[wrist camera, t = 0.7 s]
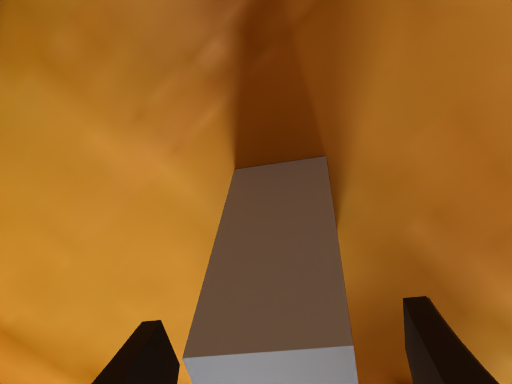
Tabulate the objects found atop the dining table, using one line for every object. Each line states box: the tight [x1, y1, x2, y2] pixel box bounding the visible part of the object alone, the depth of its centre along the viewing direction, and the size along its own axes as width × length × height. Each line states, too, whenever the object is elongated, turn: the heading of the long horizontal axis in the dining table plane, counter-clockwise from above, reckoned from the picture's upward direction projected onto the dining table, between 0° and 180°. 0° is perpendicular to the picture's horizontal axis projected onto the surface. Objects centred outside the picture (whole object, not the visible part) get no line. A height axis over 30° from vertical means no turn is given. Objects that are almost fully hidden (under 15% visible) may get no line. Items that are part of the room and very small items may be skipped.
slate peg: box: [182, 156, 358, 384], centre depth 15 cm, size 4×4×10 cm
